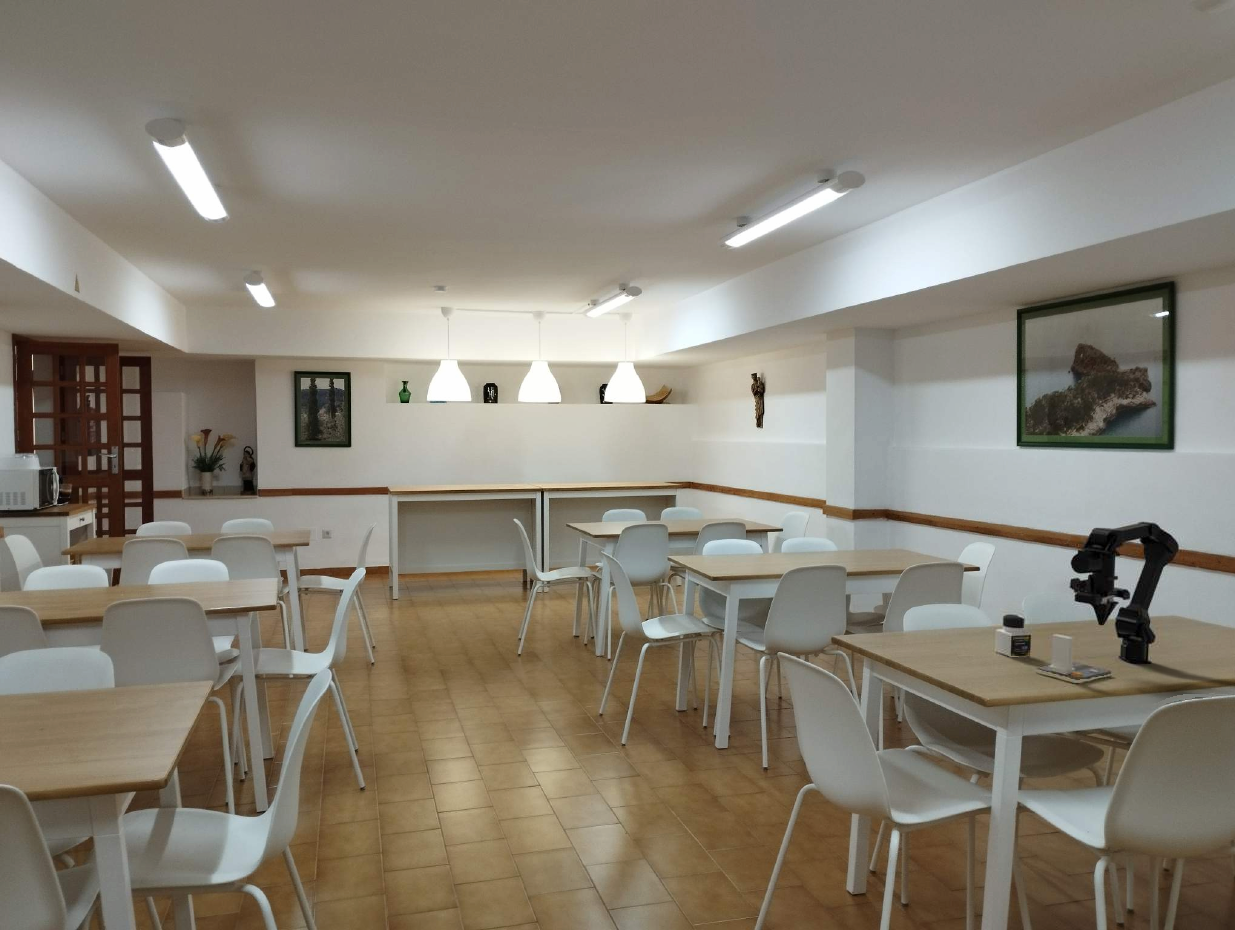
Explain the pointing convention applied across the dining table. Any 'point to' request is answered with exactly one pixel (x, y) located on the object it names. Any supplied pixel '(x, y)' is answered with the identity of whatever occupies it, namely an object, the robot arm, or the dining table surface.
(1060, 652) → the tab
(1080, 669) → the switch panel
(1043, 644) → the dining table surface
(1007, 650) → the medicine bottle
